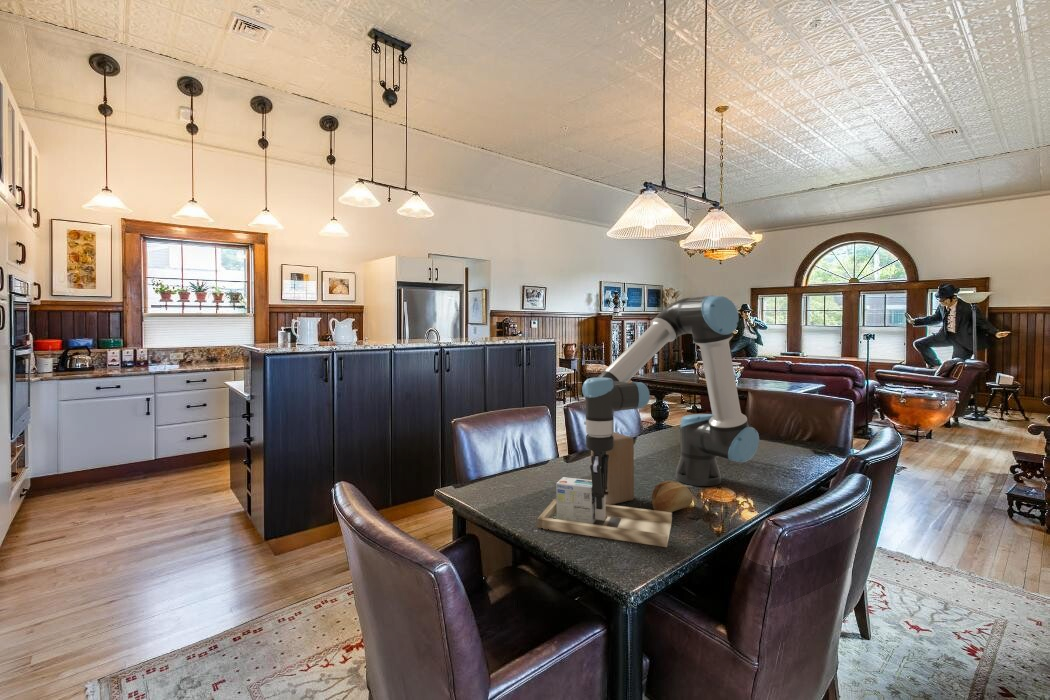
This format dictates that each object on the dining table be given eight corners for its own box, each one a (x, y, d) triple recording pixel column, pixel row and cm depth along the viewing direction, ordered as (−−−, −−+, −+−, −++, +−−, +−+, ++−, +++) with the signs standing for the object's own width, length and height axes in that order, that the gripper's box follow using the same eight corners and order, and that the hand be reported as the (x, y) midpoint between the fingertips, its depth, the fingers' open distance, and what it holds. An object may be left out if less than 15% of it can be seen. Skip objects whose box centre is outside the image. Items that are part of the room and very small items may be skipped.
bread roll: (642, 511, 140) (642, 484, 140) (671, 499, 150) (671, 474, 149) (670, 521, 133) (670, 493, 132) (699, 507, 142) (699, 481, 142)
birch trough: (671, 522, 133) (671, 512, 132) (666, 548, 117) (666, 537, 117) (555, 507, 145) (555, 498, 145) (537, 529, 129) (536, 518, 129)
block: (609, 506, 144) (609, 441, 143) (590, 496, 153) (589, 434, 152) (635, 500, 149) (634, 437, 148) (615, 491, 157) (614, 431, 156)
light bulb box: (598, 517, 136) (598, 479, 135) (592, 526, 130) (592, 487, 129) (563, 511, 140) (562, 475, 140) (555, 520, 134) (555, 482, 133)
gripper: (591, 428, 138) (592, 508, 139) (580, 438, 126) (581, 526, 127) (617, 430, 135) (618, 511, 136) (608, 440, 123) (609, 530, 124)
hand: (600, 518), depth 131 cm, fingers closed
